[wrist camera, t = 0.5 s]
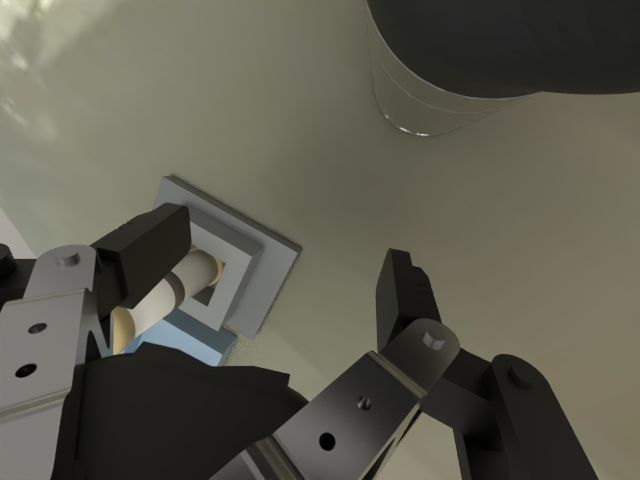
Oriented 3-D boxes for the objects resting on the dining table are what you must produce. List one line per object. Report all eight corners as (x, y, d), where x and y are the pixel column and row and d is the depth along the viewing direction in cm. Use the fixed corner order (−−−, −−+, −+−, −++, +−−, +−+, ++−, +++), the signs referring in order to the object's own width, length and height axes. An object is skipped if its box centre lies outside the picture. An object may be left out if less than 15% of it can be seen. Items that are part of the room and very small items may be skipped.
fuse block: (172, 175, 32) (140, 178, 28) (301, 248, 31) (288, 262, 27) (143, 265, 36) (111, 280, 31) (258, 332, 35) (240, 356, 31)
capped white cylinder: (199, 236, 31) (66, 292, 18) (233, 255, 31) (123, 327, 18) (187, 268, 33) (55, 342, 20) (219, 287, 33) (108, 374, 19)
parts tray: (153, 287, 36) (130, 299, 33) (237, 336, 36) (222, 354, 32) (129, 356, 40) (106, 374, 37) (205, 402, 40) (188, 424, 36)
